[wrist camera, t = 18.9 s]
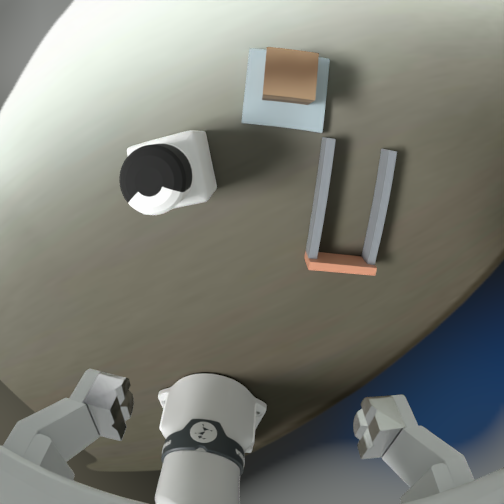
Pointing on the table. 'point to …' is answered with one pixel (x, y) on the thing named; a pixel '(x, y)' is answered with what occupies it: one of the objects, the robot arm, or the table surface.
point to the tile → (282, 112)
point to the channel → (376, 221)
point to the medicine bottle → (168, 173)
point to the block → (290, 76)
